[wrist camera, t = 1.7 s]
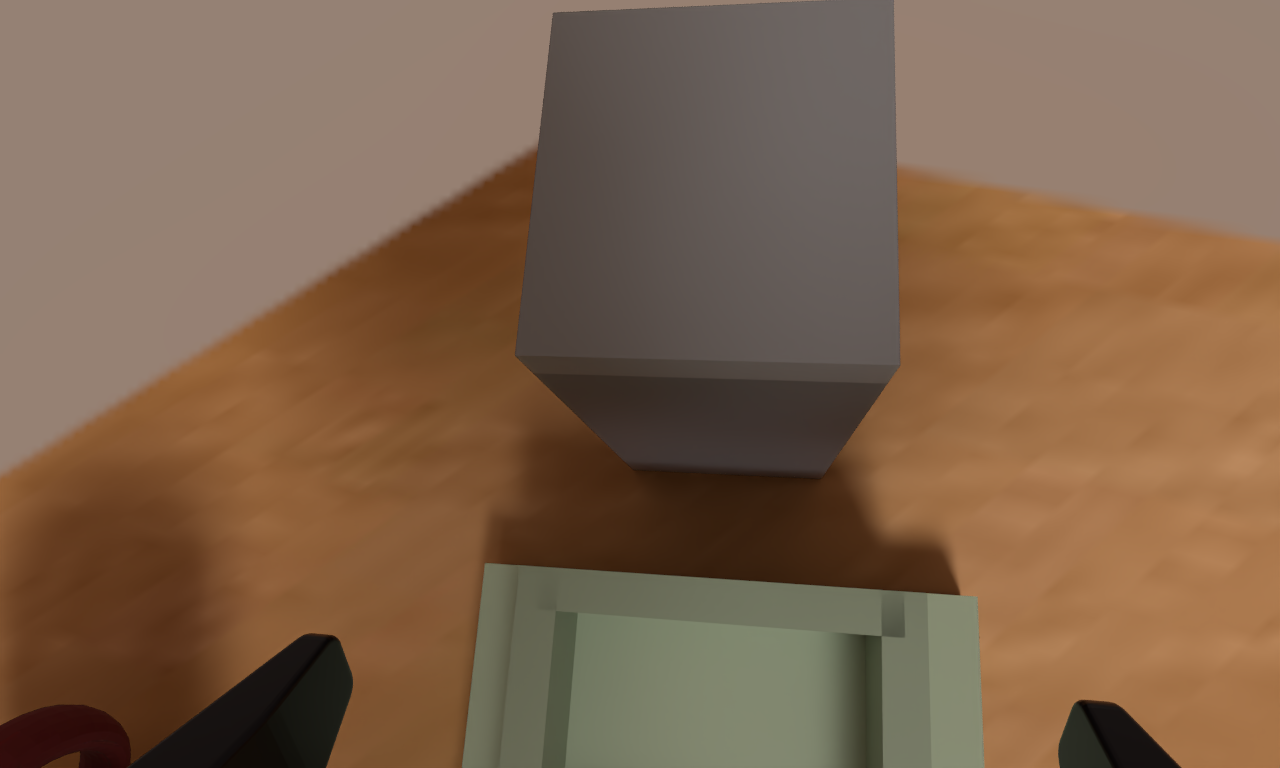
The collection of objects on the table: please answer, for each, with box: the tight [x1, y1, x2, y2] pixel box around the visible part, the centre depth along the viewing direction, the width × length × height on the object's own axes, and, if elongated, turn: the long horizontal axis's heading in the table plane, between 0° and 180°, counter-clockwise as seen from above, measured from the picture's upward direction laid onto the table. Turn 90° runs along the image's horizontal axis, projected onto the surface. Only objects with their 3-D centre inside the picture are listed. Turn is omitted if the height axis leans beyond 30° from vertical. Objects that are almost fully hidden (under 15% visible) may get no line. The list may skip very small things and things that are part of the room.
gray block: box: [515, 0, 900, 479], centre depth 17 cm, size 6×6×12 cm
